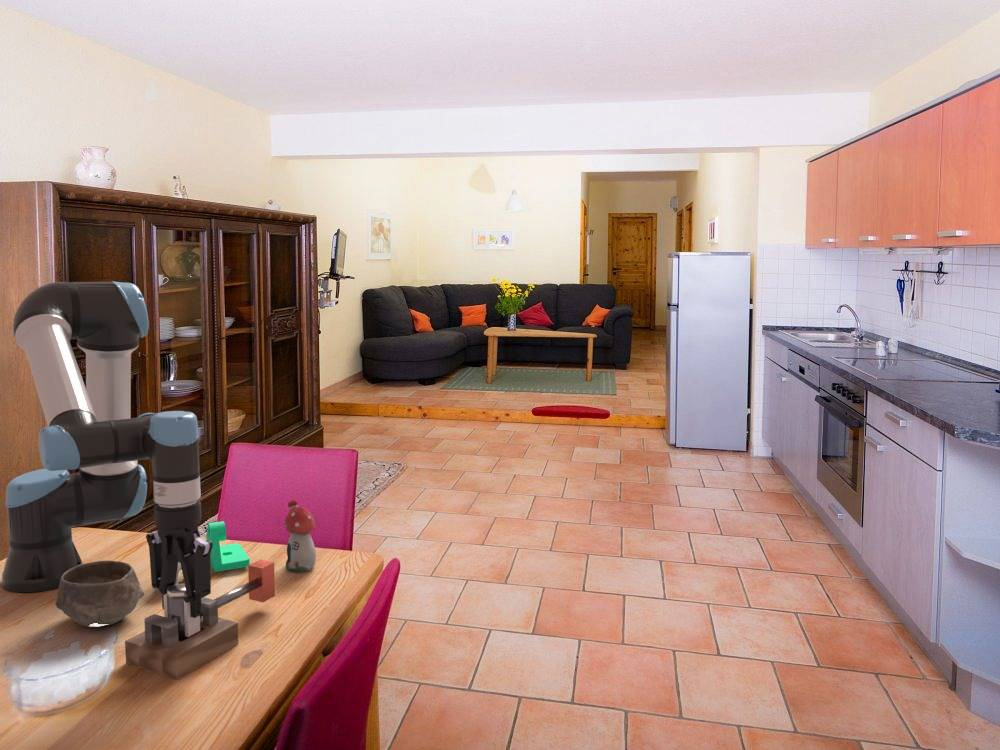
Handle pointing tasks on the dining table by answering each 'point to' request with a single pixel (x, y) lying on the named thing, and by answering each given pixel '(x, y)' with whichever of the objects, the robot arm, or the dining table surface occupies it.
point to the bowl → (99, 592)
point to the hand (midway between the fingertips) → (182, 630)
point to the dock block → (181, 643)
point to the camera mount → (224, 550)
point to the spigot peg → (178, 608)
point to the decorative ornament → (300, 539)
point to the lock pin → (253, 584)
